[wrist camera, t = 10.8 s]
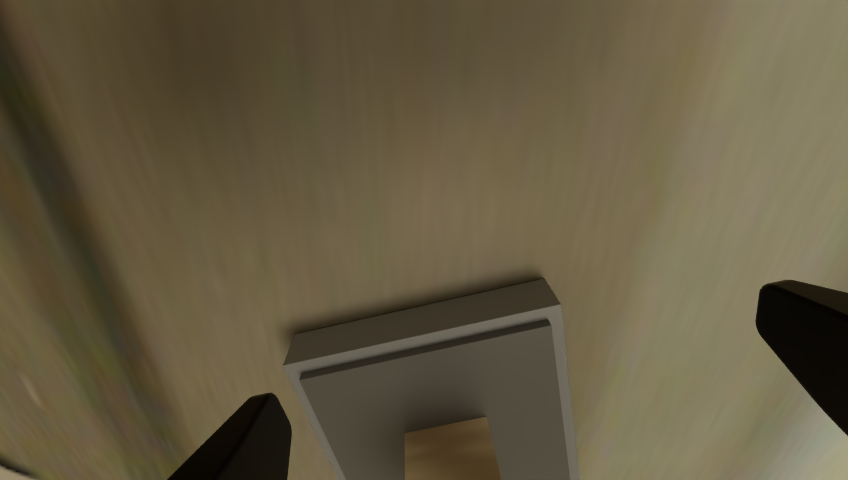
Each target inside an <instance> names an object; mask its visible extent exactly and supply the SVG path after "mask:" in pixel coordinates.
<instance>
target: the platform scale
mask: <svg viewBox="0 0 848 480" xmlns="http://www.w3.org/2000/svg"><path fill="white" fill-rule="evenodd" d="M283 367H284V369H285V371H286V373H287V375H288V377H289V379H290V381H291V383H292V385H293V387H294V389H295V391H296V393H297V396H298V398H299V400H300V402H301V404H302V406H303V408H304V410H305V412H306V414H307V416H308V418H309V420H310V422H311V424H312V426H313V429H314V431H315V433H316V435H317V437H318V439H319V441H320V443H321V445H322V447H323V449H324V451H325V453H326V455H327V457H328V460H329V462H330V464H331V466H332V468H333V470H334V472H335V474H336V476H337V478H338V480H405V433H409V432H413V431H418V430H423V429H428V428H433V427H438V426H443V425H448V424H453V423H458V422H462V421H467V420H472V419H477V418H482V417H487V421H488V425H489V429H490V433H491V438H492V442H493V446H494V450H495V455H496V459H497V463H498V467H499V472H500V476H501V480H580V478H579V468H578V459H577V450H576V440H575V431H574V422H573V412H572V403H571V394H570V384H569V375H568V366H567V356H566V347H565V338H564V328H563V319H562V310H561V304H560V302H559V301H558V299H557V297H556V296H555V294H554V293H553V291H552V290H551V288H550V286H549V285H548V283H547V282H546V280H545V279H540V280H536V281H531V282H527V283H522V284H518V285H513V286H509V287H504V288H500V289H495V290H491V291H487V292H482V293H478V294H473V295H469V296H464V297H460V298H455V299H451V300H446V301H442V302H437V303H433V304H428V305H424V306H420V307H415V308H411V309H406V310H402V311H397V312H393V313H388V314H384V315H379V316H375V317H370V318H366V319H361V320H357V321H353V322H348V323H344V324H339V325H335V326H330V327H326V328H321V329H317V330H312V331H308V332H303V333H299V334H295V335H294V338H293V341H292V343H291V346H290V348H289V351H288V354H287V356H286V359H285V362H284V364H283Z"/></svg>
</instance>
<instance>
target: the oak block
mask: <svg viewBox="0 0 848 480" xmlns="http://www.w3.org/2000/svg"><path fill="white" fill-rule="evenodd" d="M405 480H501V476H500V472H499V467H498V463H497V459H496V455H495V450H494V446H493V442H492V438H491V433H490V429H489V425H488V421H487V417H482V418H477V419H472V420H467V421H462V422H458V423H453V424H448V425H443V426H438V427H433V428H428V429H423V430H418V431H413V432H409V433H405Z"/></svg>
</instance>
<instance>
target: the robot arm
mask: <svg viewBox="0 0 848 480" xmlns="http://www.w3.org/2000/svg"><path fill="white" fill-rule="evenodd" d="M756 327H757V330H758V332H759V334H760V335H761V337H762V338H763V339H764V340H765V342H766V343H767V344H768V345H769V346H770V348H771V349H772V350H773V351H774V352H775V354H776V355H777V356H778V357H779V358H780V360H781V361H782V362H783V363H784V364H785V366H786V367H787V368H788V369H789V370H790V372H791V373H792V374H793V375H794V377H795V378H796V379H797V380H798V381H799V383H800V384H801V385H802V386H803V387H804V389H805V390H806V391H807V392H808V393H809V395H810V396H811V397H812V398H813V399H814V400H815V402H816V403H817V404H818V405H819V406H820V407H821V408H822V410H823V411H824V412H825V413H826V414H827V415H828V416H829V417H830V418H831V419H832V420H833V421H834V422H835V423H836V424H837V425H838V427H839V428H840V429H841V430H842V431H843V432H844V433H845V434H846V435H847V436H848V293H846V292H842V291H838V290H833V289H829V288H825V287H820V286H816V285H812V284H807V283H803V282H799V281H795V280H783V281H778V282H773V283H769V284H766V285H764V286H763V287H762V288H761V289H760V292H759V299H758V307H757V314H756ZM291 436H292V430H291V425H290V422H289V420H288V418H287V416H286V414H285V412H284V410H283V408H282V406H281V404H280V402H279V400H278V398H277V397H276V395H274V394H273V393H265V394H261V395H256V396H253V397H250V398H249V399H248V400H247V401H246V402H245V403H244V404H243V405H242V406H241V407H240V408H239V409H238V410H237V411H236V412H235V413H234V414H233V415H232V416H231V417H230V418H229V419H228V420H227V421H226V422H225V423H224V424H223V425H222V426H221V427H220V428H219V429H218V430H217V431H216V432H215V433H214V434H213V435H212V436H211V437H210V438H209V439H208V440H207V441H206V442H205V443H204V444H203V445H201V446H200V447H199V448H198V449H197V450H196V451H195V452H194V453H193V454H192V455H191V456H190V457H189V458H188V459H187V460H186V461H185V462H184V463H183V464H182V465H181V466H180V467H179V468H178V469H177V470H176V471H175V472H174V473H173V474H172V475H171V476H170V477H169V478H168V479H167V480H287V476H288V466H289V456H290V446H291Z"/></svg>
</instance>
